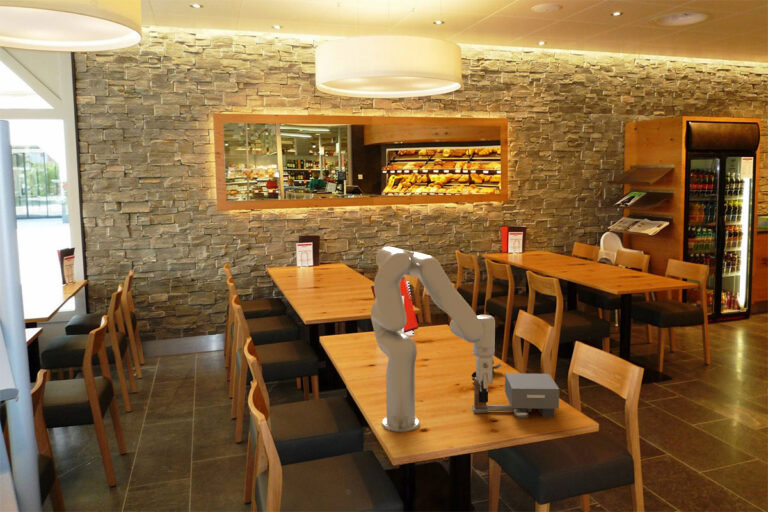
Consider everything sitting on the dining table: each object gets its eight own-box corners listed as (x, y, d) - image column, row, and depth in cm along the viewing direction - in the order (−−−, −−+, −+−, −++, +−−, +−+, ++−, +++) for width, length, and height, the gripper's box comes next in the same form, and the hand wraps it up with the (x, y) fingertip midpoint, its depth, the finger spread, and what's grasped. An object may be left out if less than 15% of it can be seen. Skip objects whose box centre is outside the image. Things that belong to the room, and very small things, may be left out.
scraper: (532, 413, 209) (532, 380, 207) (473, 412, 210) (473, 380, 208) (529, 409, 213) (530, 376, 211) (472, 408, 214) (472, 376, 212)
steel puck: (529, 418, 206) (530, 412, 205) (515, 418, 206) (515, 412, 206) (527, 412, 211) (527, 407, 210) (513, 412, 211) (513, 407, 211)
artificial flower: (467, 389, 239) (462, 364, 240) (489, 379, 258) (485, 356, 259) (487, 386, 234) (482, 361, 235) (508, 377, 253) (504, 354, 254)
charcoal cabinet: (558, 420, 203) (559, 389, 202) (511, 420, 204) (512, 389, 203) (548, 402, 220) (549, 373, 218) (504, 401, 221) (505, 373, 219)
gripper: (497, 357, 201) (496, 409, 203) (491, 344, 217) (490, 392, 219) (475, 357, 201) (474, 409, 203) (470, 344, 217) (470, 392, 219)
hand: (482, 400), depth 211 cm, fingers closed on scraper, 2 cm apart
